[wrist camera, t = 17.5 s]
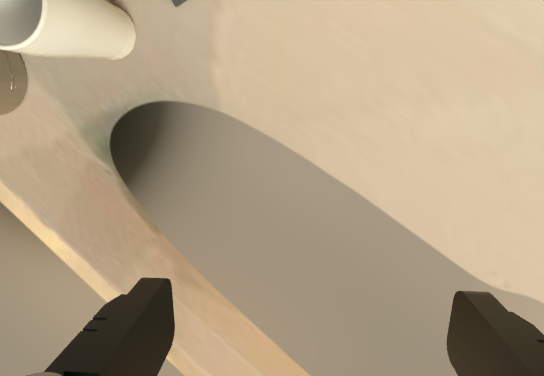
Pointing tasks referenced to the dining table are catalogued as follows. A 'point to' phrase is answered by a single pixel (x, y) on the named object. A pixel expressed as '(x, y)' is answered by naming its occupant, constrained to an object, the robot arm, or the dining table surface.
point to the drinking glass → (66, 28)
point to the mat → (178, 2)
